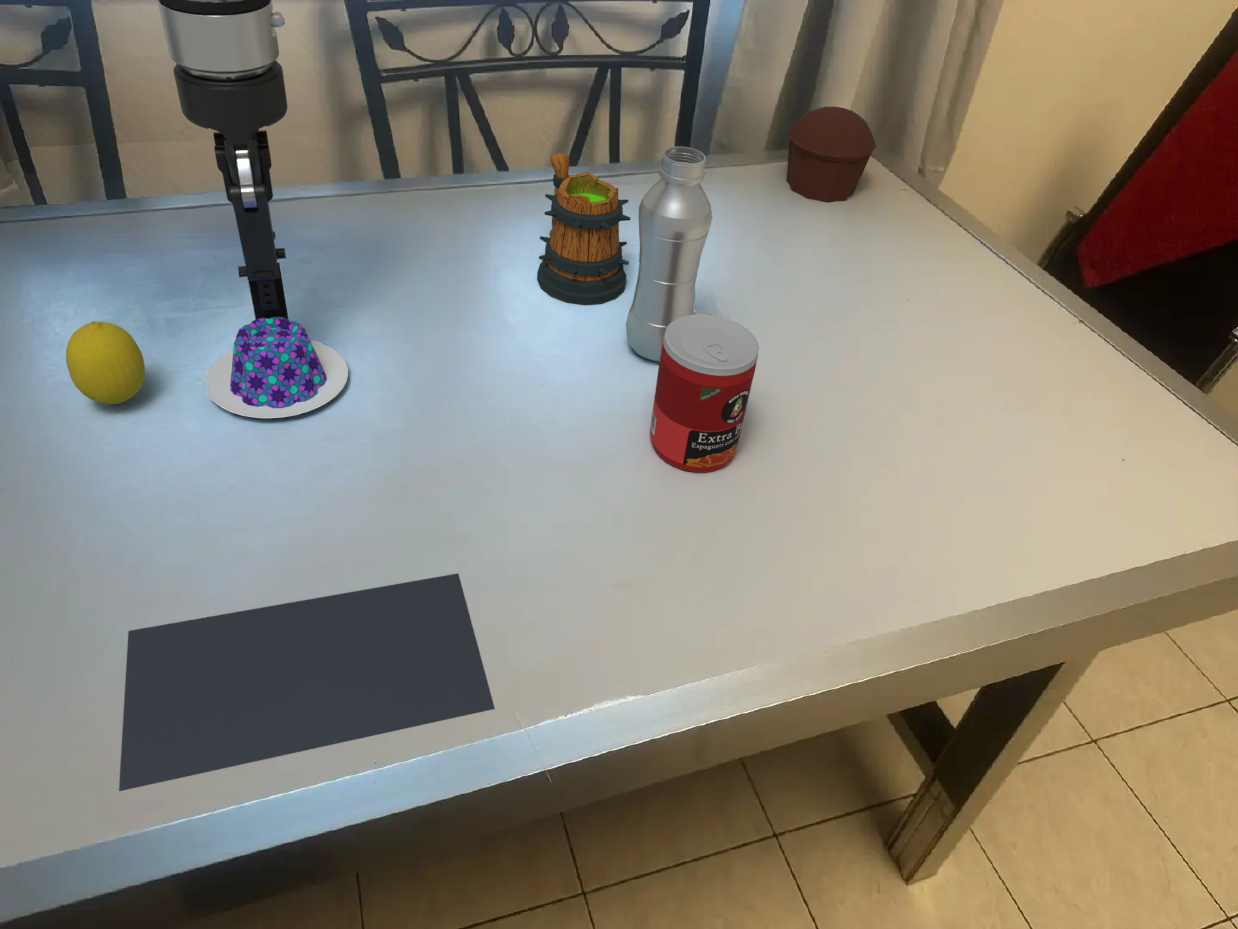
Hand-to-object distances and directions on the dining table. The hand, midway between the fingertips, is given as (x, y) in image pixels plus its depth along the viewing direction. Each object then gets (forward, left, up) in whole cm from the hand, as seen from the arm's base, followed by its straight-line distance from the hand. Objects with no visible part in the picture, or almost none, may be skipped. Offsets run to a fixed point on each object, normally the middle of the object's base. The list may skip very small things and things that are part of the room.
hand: (274, 331), depth 85 cm
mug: (+17, +28, -3) cm, 33 cm away
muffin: (+35, +66, -3) cm, 75 cm away
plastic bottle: (+30, +19, -3) cm, 36 cm away
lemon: (-7, -12, -3) cm, 14 cm away
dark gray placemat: (+23, -27, -3) cm, 36 cm away
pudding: (+2, -3, -3) cm, 5 cm away
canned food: (+38, +7, -3) cm, 39 cm away
